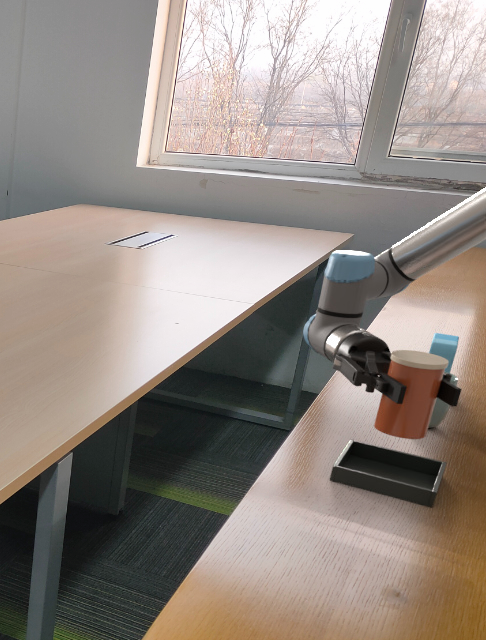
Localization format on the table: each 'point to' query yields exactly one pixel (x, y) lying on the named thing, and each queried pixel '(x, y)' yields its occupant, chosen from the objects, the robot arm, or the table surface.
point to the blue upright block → (445, 347)
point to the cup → (441, 407)
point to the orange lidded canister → (411, 394)
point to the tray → (389, 472)
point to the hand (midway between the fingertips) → (429, 396)
